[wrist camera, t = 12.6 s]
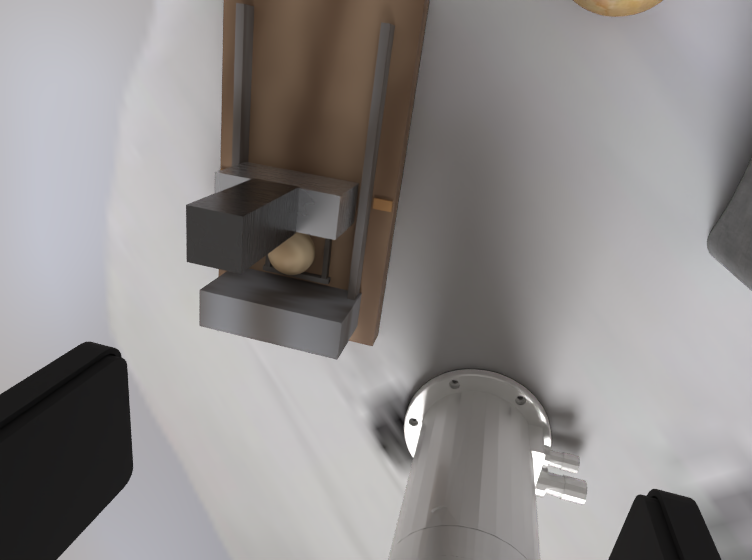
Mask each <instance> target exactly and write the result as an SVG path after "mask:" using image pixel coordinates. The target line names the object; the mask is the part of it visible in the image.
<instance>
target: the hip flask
mask: <svg viewBox="0 0 752 560" xmlns="http://www.w3.org/2000/svg"><path fill="white" fill-rule="evenodd" d="M707 247H708V250H709V253H710V254H711V255H712V256H713V257H714V258H715V259H716V260H717V261H718V262H720V263H721V264H722V265H723V266H724V267H725V268H726V269H728V270H729V271H730V272H731V273H732V274H733V275H734V276H735V277H737V278H738V279H739V280H740V281H741V282H742V283H743V284H745V285H746V286H747V287H748V288H749V289H750V290H751V291H752V157H751V160H750V162H749V164H748V167H747V169H746V171H745V173H744V175H743V177H742V179H741V181H740V183H739V185H738V187H737V189H736V191H735V193H734V195H733V197H732V199H731V200H730V202H729V204H728V206H727V208H726V209H725V211H724V212H723V214H722V216H721V217H720V219H719V221H718V222H717V224H716V225H715V227H714V228H713V230H712V231H711V233H710V234H709V237H708V240H707Z"/></svg>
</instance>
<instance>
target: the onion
mask: <svg viewBox="0 0 752 560" xmlns="http://www.w3.org/2000/svg"><path fill="white" fill-rule="evenodd" d="M573 1H574V2H575V3H577V4H578V5H579V6H581V7H582V8H584V9H586V10H588V11H591V12H593V13H596V14H599V15H603V16H612V17H618V16H628V15H634V14H637V13H640V12H643V11H646V10H648V9H650V8H652V7H654V6H655V5H657V4H658V3H660V2H662V1H663V0H573Z"/></svg>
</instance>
